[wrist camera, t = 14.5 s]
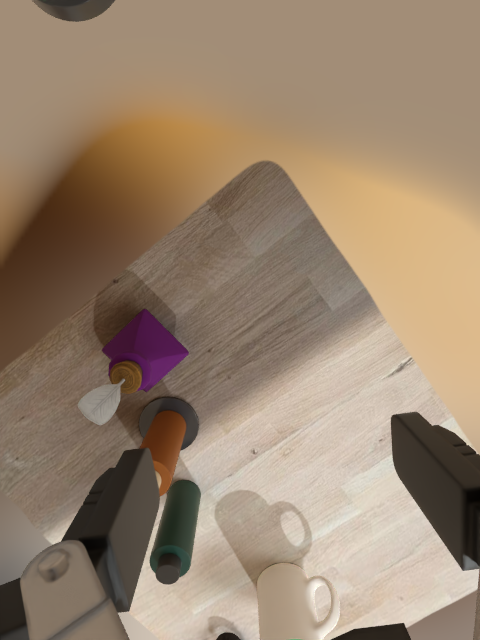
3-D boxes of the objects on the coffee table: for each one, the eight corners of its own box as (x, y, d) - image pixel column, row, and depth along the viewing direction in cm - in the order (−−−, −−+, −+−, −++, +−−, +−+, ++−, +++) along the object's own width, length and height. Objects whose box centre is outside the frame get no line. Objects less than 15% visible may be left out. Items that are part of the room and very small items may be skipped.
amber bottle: (149, 437, 48) (119, 504, 36) (155, 407, 47) (126, 464, 35) (182, 444, 48) (163, 513, 36) (189, 414, 47) (172, 474, 35)
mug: (307, 538, 52) (324, 610, 42) (340, 571, 53) (365, 649, 43) (245, 583, 54) (247, 663, 43) (280, 614, 55) (290, 699, 45)
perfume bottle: (151, 303, 44) (94, 342, 27) (193, 345, 45) (165, 409, 28) (110, 342, 45) (30, 405, 28) (152, 382, 47) (100, 467, 29)
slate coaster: (135, 444, 48) (134, 446, 48) (145, 391, 47) (144, 392, 46) (192, 455, 49) (192, 457, 48) (204, 403, 47) (204, 405, 47)
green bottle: (165, 504, 51) (142, 588, 38) (171, 477, 50) (150, 553, 37) (197, 510, 51) (184, 595, 39) (203, 483, 50) (192, 561, 38)
